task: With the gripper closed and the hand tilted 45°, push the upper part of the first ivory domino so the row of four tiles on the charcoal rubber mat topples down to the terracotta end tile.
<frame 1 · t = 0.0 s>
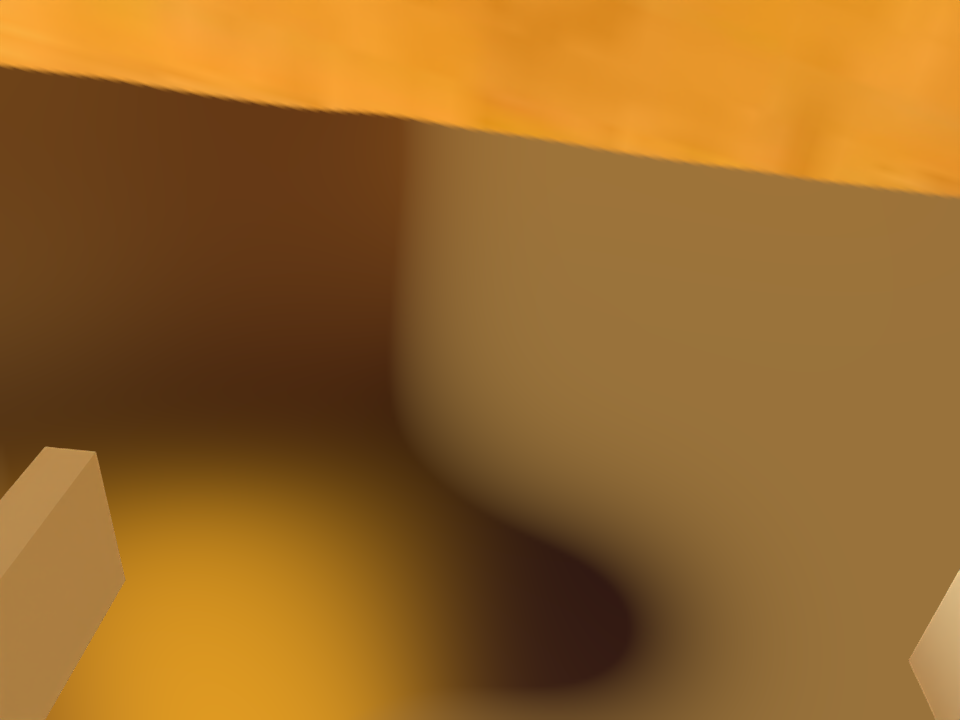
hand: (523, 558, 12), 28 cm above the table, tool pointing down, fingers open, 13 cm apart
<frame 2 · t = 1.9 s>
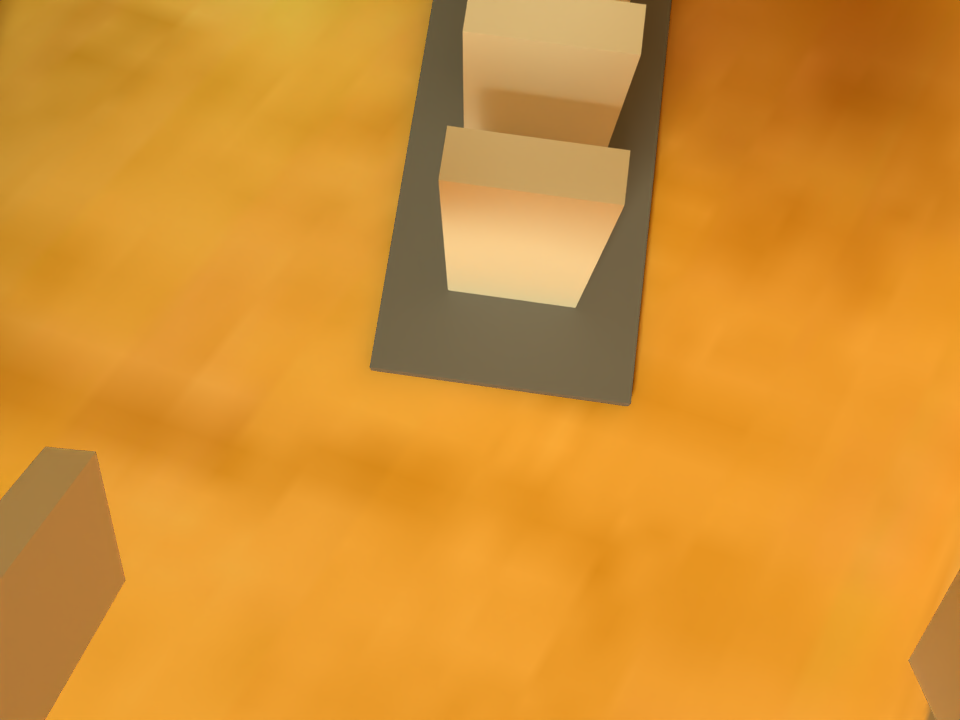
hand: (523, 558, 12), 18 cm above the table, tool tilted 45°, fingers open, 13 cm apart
domino 1: (514, 279, 31), point 1 cm above the table, touching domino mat
domino 2: (528, 173, 32), point 1 cm above the table, touching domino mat
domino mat: (534, 130, 33), on the table
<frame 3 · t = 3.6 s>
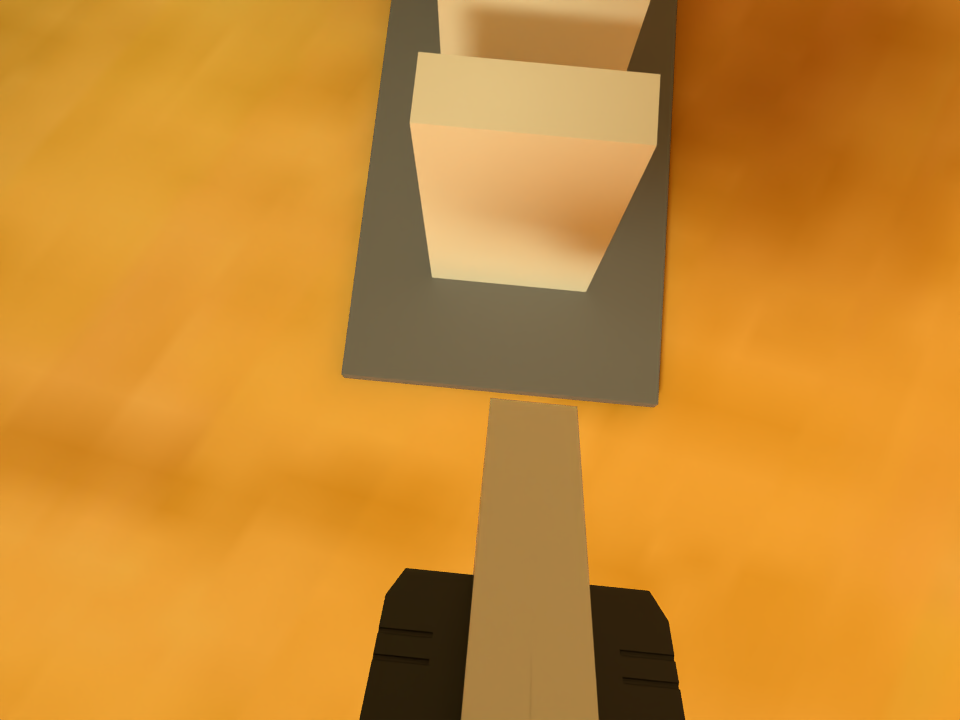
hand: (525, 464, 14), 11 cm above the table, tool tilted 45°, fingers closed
domino 1: (511, 261, 26), point 1 cm above the table, touching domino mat
domino 2: (522, 135, 27), point 1 cm above the table, touching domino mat
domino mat: (526, 84, 28), on the table
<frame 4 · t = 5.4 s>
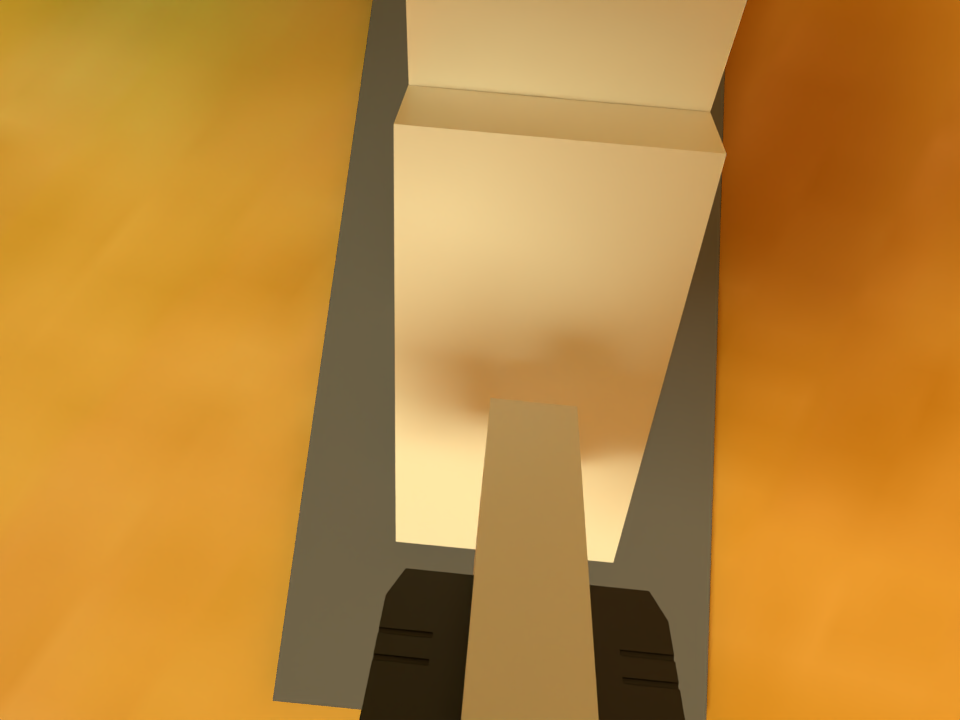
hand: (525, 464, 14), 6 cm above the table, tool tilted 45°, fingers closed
domino 1: (505, 524, 19), point 1 cm above the table, tilted 38°, touching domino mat
domino 2: (520, 346, 20), point 1 cm above the table, tilted 23°
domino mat: (525, 277, 21), on the table
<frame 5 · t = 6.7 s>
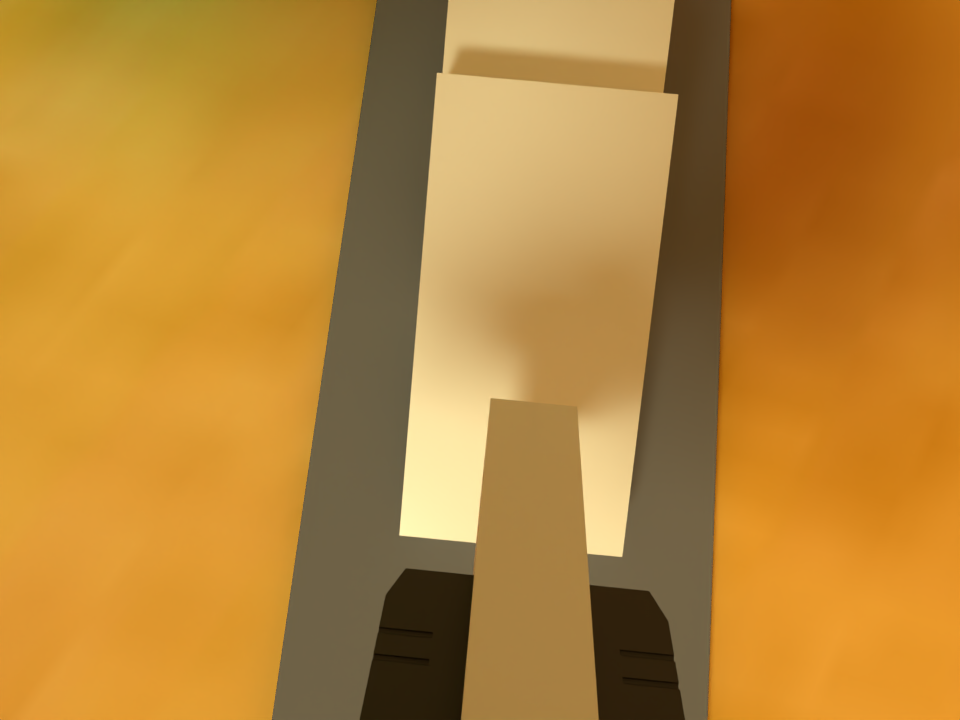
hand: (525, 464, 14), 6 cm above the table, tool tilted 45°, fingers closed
domino 1: (510, 533, 19), point 1 cm above the table, tilted 69°, touching domino 2, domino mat
domino 2: (525, 337, 20), point 1 cm above the table, tilted 69°, touching domino 1, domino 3, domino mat
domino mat: (525, 313, 21), on the table
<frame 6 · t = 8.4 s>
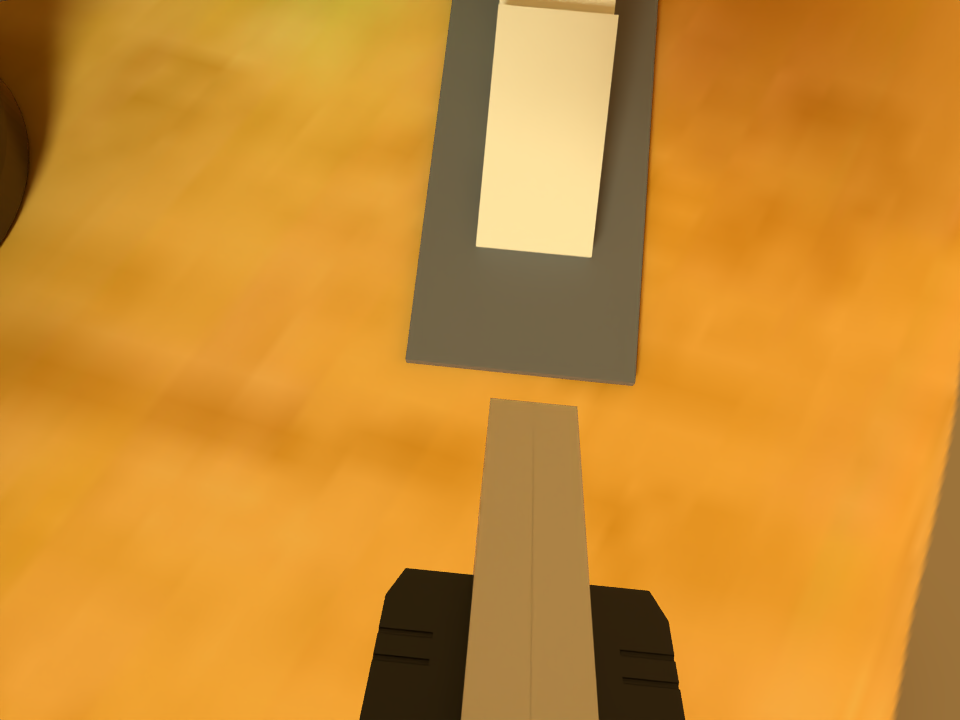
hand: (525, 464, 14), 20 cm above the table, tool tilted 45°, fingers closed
domino 1: (532, 252, 35), point 1 cm above the table, tilted 69°, touching domino 2, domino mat
domino 2: (540, 154, 36), point 1 cm above the table, tilted 69°, touching domino 1, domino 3, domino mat
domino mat: (540, 148, 38), on the table
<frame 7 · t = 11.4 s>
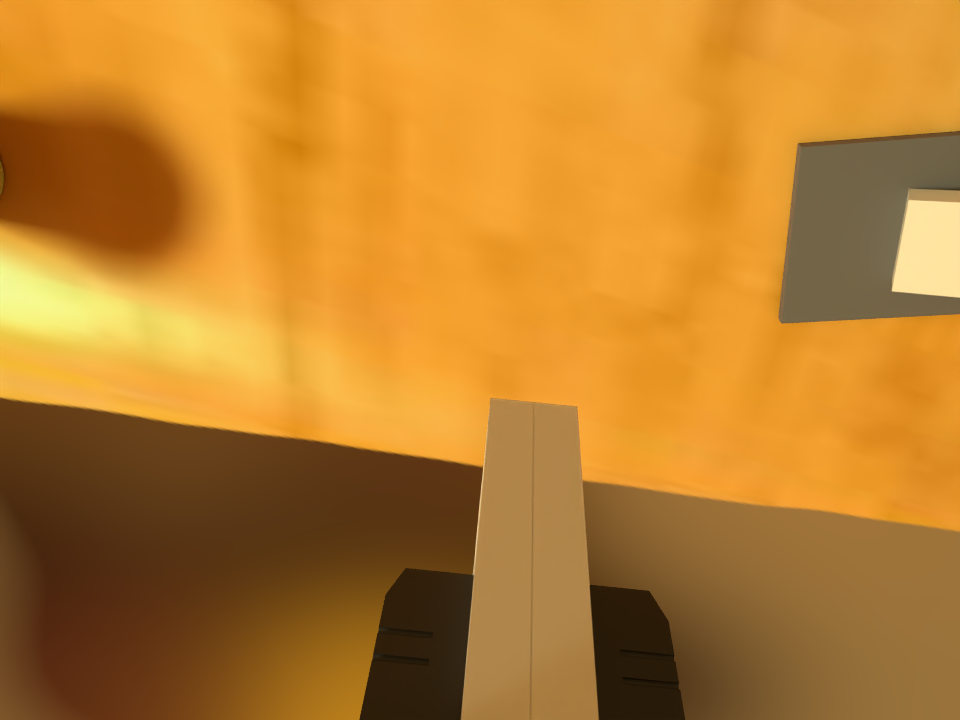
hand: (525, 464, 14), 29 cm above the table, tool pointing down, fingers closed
domino 1: (900, 240, 41), point 1 cm above the table, tilted 69°, touching domino 2, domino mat
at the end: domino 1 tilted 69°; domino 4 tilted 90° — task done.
